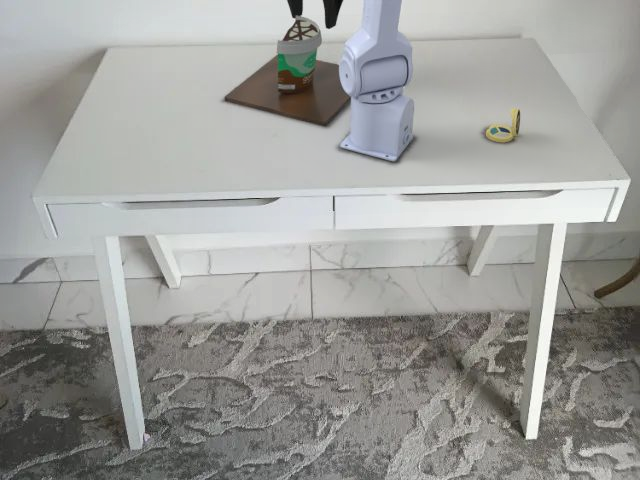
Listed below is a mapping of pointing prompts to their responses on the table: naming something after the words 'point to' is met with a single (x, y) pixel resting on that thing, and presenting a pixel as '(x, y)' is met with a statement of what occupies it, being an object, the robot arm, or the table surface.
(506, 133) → the eyeshadow
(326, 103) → the walnut board
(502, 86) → the table surface
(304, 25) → the food container
